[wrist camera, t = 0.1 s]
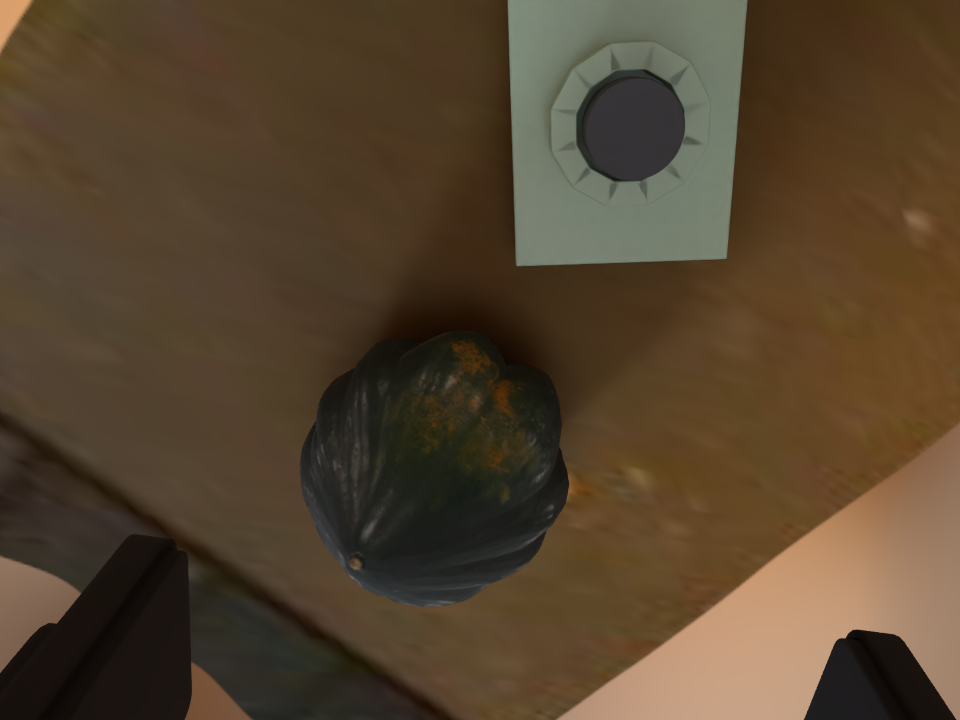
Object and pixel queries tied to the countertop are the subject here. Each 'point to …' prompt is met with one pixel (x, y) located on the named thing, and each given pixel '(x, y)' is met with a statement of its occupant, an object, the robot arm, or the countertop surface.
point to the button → (633, 127)
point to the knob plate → (558, 128)
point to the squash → (435, 467)
